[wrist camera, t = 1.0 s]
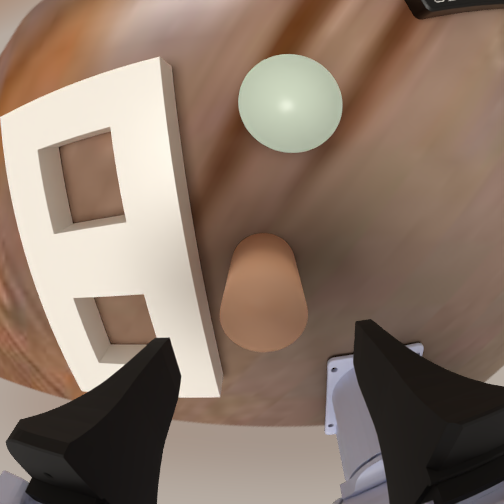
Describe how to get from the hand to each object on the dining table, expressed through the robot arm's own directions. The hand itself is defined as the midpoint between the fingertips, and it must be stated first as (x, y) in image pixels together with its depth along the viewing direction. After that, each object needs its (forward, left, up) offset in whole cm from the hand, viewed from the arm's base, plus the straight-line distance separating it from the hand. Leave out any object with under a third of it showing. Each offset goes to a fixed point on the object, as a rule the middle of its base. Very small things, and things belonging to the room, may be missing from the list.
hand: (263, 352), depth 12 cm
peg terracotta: (0, 0, -9) cm, 9 cm away
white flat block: (+2, +10, -9) cm, 14 cm away
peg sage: (+9, -2, -9) cm, 13 cm away
